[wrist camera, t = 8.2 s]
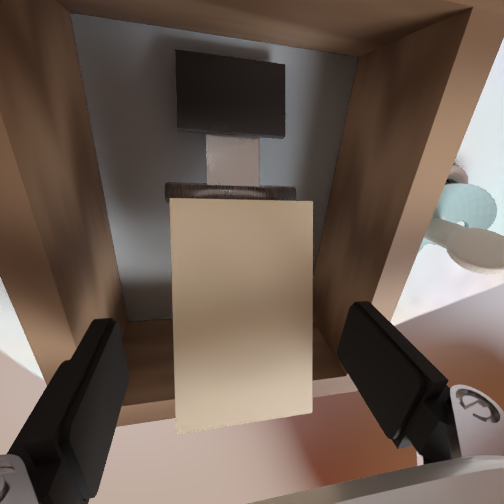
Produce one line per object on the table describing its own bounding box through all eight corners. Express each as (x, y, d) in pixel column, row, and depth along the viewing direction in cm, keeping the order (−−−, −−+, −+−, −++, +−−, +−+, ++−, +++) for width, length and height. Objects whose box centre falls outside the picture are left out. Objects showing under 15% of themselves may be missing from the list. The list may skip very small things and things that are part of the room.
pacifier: (365, 184, 16) (372, 261, 19) (452, 210, 11) (444, 313, 13) (468, 148, 16) (460, 228, 19) (605, 153, 11) (567, 266, 14)
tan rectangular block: (177, 208, 11) (169, 198, 8) (285, 210, 12) (312, 201, 9) (182, 384, 11) (175, 434, 9) (285, 371, 12) (312, 412, 10)
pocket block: (13, -49, 9) (-243, -293, 4) (393, 23, 12) (540, -55, 7) (107, 340, 17) (67, 433, 12) (320, 322, 21) (362, 390, 15)
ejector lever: (163, 60, 11) (160, 42, 10) (289, 76, 13) (297, 61, 11) (172, 381, 12) (170, 395, 11) (290, 367, 13) (297, 378, 12)
